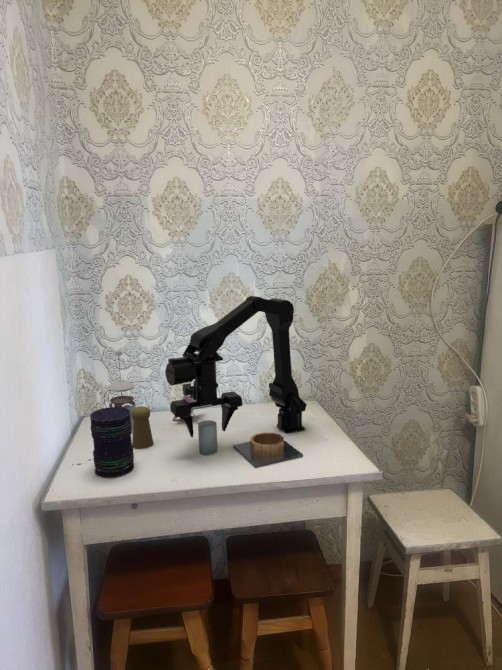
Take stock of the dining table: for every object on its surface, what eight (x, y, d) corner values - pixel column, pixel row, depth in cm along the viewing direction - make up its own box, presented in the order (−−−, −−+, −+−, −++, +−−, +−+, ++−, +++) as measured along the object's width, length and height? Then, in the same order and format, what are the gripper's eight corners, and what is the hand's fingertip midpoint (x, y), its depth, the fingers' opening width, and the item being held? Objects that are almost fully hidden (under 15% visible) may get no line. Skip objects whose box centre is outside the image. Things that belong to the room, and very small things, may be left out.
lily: (211, 417, 167) (198, 390, 168) (215, 414, 156) (202, 386, 157) (177, 433, 164) (165, 406, 165) (180, 432, 152) (167, 403, 153)
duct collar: (277, 438, 146) (277, 425, 145) (302, 456, 133) (302, 443, 132) (233, 447, 140) (232, 434, 139) (254, 468, 127) (254, 453, 127)
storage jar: (141, 462, 132) (137, 408, 129) (123, 479, 123) (119, 421, 120) (106, 459, 134) (102, 405, 131) (86, 476, 125) (81, 419, 122)
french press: (124, 437, 148) (118, 355, 143) (96, 431, 154) (89, 351, 149) (147, 426, 157) (141, 348, 152) (119, 420, 162) (113, 344, 158)
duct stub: (213, 446, 141) (212, 419, 140) (220, 453, 137) (219, 425, 135) (196, 449, 139) (195, 422, 137) (202, 456, 135) (201, 428, 133)
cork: (143, 438, 147) (141, 402, 145) (158, 443, 144) (155, 406, 142) (127, 445, 143) (124, 408, 140) (142, 450, 139) (139, 412, 137)
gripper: (226, 367, 145) (228, 418, 148) (163, 376, 137) (166, 430, 140) (242, 376, 135) (243, 431, 138) (175, 386, 127) (178, 444, 130)
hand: (207, 433), depth 137 cm, fingers open, 9 cm apart
